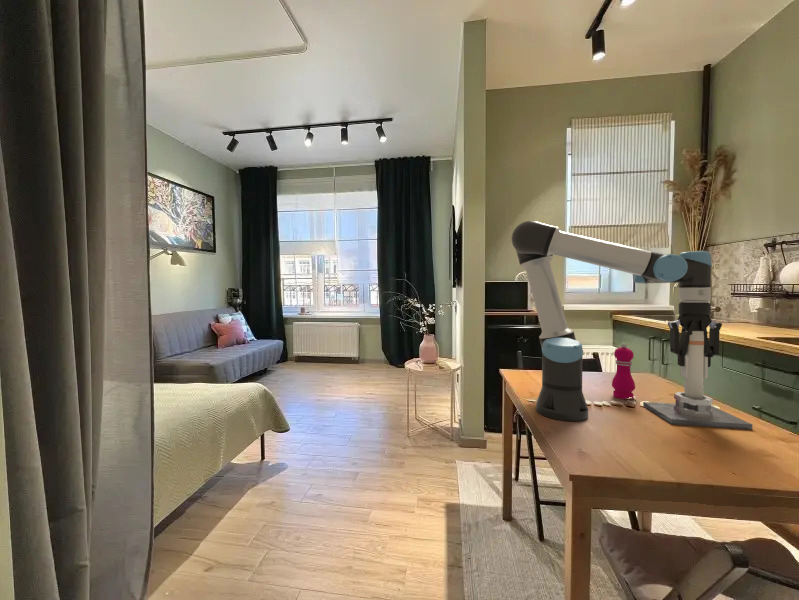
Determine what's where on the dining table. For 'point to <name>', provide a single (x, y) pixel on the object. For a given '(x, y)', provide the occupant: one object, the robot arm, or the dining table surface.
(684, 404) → the tube holder base
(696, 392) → the cream ringed tube
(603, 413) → the dining table surface
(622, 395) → the pepper mill
